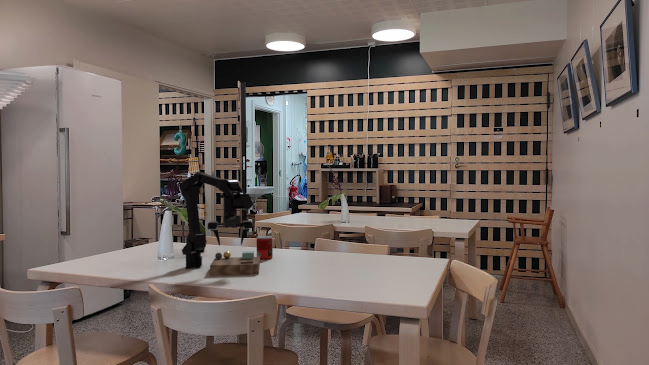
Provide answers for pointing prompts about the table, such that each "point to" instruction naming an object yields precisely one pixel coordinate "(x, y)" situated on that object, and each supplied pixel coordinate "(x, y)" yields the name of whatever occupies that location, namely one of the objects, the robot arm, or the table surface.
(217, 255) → the black rubber ball
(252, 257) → the teal block
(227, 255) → the brass ball
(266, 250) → the canned food
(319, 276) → the table surface
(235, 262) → the board
